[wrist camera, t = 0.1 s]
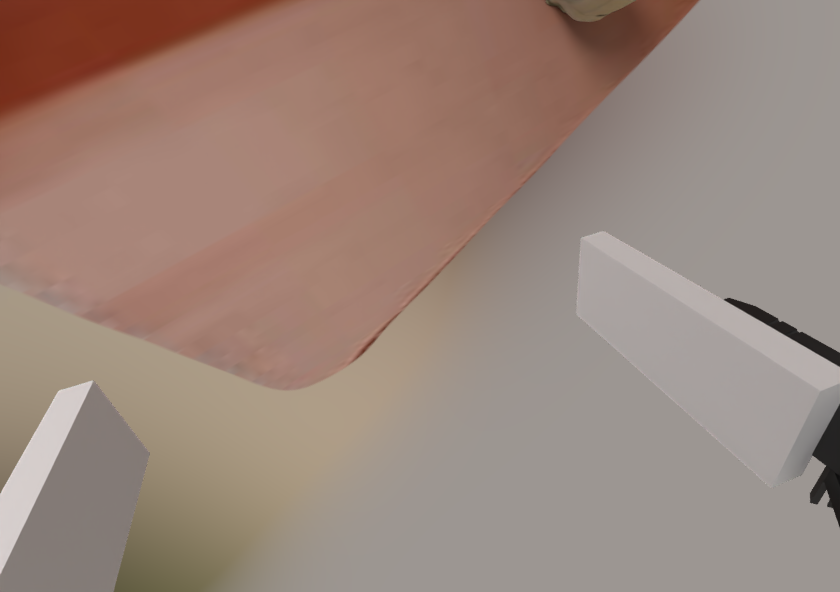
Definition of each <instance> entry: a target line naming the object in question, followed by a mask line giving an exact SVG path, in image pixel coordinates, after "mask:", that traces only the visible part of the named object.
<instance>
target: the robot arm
mask: <svg viewBox="0 0 840 592" xmlns="http://www.w3.org/2000/svg"><path fill="white" fill-rule="evenodd" d="M576 314H577V315H578V316H579V317H580V318H581V319H582V320H583V321H584V322H585V323H587V324H588V325H589V326H590V327H591V328H592V329H593V330H594V331H596V332H597V333H598V334H599V335H600V336H601V337H602V338H604V339H605V340H606V341H607V342H608V343H609V344H610V345H612V347H613V348H615V349H616V350H617V351H618V352H619V353H620V354H621V355H622V356H624V357H625V358H626V359H627V360H628V361H629V362H631V363H632V364H633V365H634V366H635V367H636V368H637V369H638V370H639V371H640V372H641V373H643V374H644V375H645V376H646V377H647V378H648V379H649V380H651V381H652V382H653V383H654V384H655V385H656V386H657V387H658V388H659V389H661V390H662V391H663V392H664V393H665V394H666V395H667V396H668V397H670V398H671V399H672V400H673V401H674V402H675V403H676V404H678V406H680V407H681V408H682V409H683V410H684V411H685V412H687V414H689V415H690V416H691V417H692V418H693V419H694V420H696V422H698V423H699V424H700V425H701V426H702V427H703V428H704V429H705V430H706V431H708V432H709V433H710V434H711V435H712V436H713V437H714V438H715V439H717V440H718V441H719V442H720V443H721V444H722V445H723V446H724V447H726V448H727V449H728V450H729V451H730V452H731V453H732V454H733V455H734V456H736V457H737V458H738V459H739V460H740V461H741V462H742V463H743V464H745V465H746V466H747V467H748V468H749V469H750V470H751V471H752V472H754V473H755V474H756V475H757V476H758V477H759V478H760V479H761V480H763V481H764V482H765V483H766V484H767V485H768V486H769V487H770V488H774V487H776V486H778V485H780V484H783V483H785V482H787V481H789V480H792V479H794V478H796V477H798V476H801V475H802V474H803V472H804V470H805V468H806V467H807V465H808V463H809V461H810V459H811V457H812V456H814V457H816V458H817V459H818V460H819V461H821V462H822V463H824V464H825V465H826V467H825V469H824V471H823V472H822V474H821V476H820V478H819V479H818V481H817V483H816V484H815V486H814V488H813V489H812V491H811V493H810V503H813V504H818V502H819V501H820V499H821V498H822V496H823V494H824V493H825V491H826V490H827V491H828V494H829V498H830V500H829V502H828V505H827V506H828V507H831V508H833V509H834V512H835V515H836V518H837V521H838V524H839V527H840V353H839V352H837V351H836V350H834V349H832V348H830V347H828V346H826V345H825V344H823V343H821V342H819V341H818V340H816V339H814V338H812V337H810V336H808V335H807V334H805V333H803V332H800V333H799V332H798V331H797V329H796V328H794V327H792V326H790V325H788V324H787V323H785V322H783V321H782V322H779V321H778V318H776V317H774V316H772V315H770V314H769V313H767V312H765V311H763V310H761V309H759V308H758V307H756V306H753V305H750V304H747V303H744V302H741V301H737V300H734V299H731V298H727V299H724V300H723V299H721V298H719V297H717V296H716V295H714V294H712V293H711V292H709V291H707V290H705V289H704V288H702V287H700V286H698V285H697V284H695V283H693V282H691V281H690V280H688V279H686V278H684V277H683V276H681V275H679V274H678V273H676V272H674V271H672V270H671V269H669V268H667V267H666V266H664V265H662V264H660V263H659V262H657V261H655V260H653V259H652V258H650V257H648V256H647V255H645V254H643V253H641V252H640V251H638V250H636V249H634V248H633V247H631V246H629V245H627V244H626V243H624V242H622V241H621V240H619V239H617V238H615V237H614V236H612V235H610V234H608V233H607V232H605V231H601V232H598V233H595V234H591V235H588V236H585V237H581V241H580V257H579V273H578V290H577V306H576ZM149 455H150V453H149V452H148V450H147V449H146V448H145V446H144V445H143V444H142V442H141V441H140V440H139V439H138V438H137V436H136V435H135V433H134V432H133V431H132V429H131V428H130V427H129V426H128V424H127V423H126V422H125V421H124V419H123V418H122V416H121V415H120V414H119V412H118V411H117V410H116V409H115V407H114V406H113V405H112V403H111V402H110V401H109V400H108V398H107V397H106V396H105V394H104V393H103V392H102V390H101V389H100V388H99V386H98V385H97V384H96V383H95V381H90V382H86V383H83V384H80V385H76V386H73V387H69V388H66V389H62V390H59V391H58V393H57V395H56V396H55V398H54V400H53V402H52V403H51V405H50V407H49V409H48V410H47V412H46V414H45V416H44V418H43V419H42V421H41V423H40V425H39V426H38V428H37V430H36V432H35V433H34V435H33V437H32V439H31V441H30V442H29V444H28V446H27V448H26V449H25V451H24V453H23V455H22V456H21V458H20V460H19V462H18V463H17V465H16V467H15V469H14V471H13V472H12V474H11V476H10V478H9V479H8V481H7V483H6V485H5V486H4V488H3V490H2V492H1V494H0V592H113V591H114V587H115V583H116V579H117V575H118V572H119V568H120V564H121V560H122V556H123V553H124V549H125V545H126V541H127V538H128V534H129V530H130V526H131V523H132V519H133V515H134V511H135V507H136V504H137V500H138V496H139V492H140V488H141V485H142V481H143V477H144V473H145V470H146V466H147V462H148V458H149Z"/></svg>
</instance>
